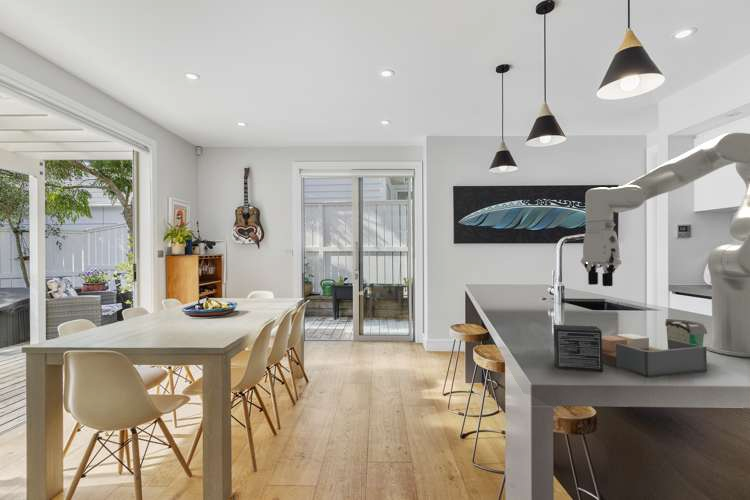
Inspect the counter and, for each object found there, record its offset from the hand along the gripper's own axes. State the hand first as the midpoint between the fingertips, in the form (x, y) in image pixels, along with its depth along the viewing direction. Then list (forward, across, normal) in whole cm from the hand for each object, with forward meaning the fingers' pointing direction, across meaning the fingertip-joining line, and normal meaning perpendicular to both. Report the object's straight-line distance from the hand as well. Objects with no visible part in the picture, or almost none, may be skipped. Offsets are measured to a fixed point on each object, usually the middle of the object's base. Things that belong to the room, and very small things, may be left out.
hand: (600, 284), depth 118 cm
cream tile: (+17, -11, 0) cm, 20 cm away
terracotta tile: (+17, -11, +8) cm, 22 cm away
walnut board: (+19, -12, +4) cm, 23 cm away
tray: (+19, -23, +4) cm, 30 cm away
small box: (+20, -16, +23) cm, 34 cm away
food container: (+20, -18, -12) cm, 29 cm away
